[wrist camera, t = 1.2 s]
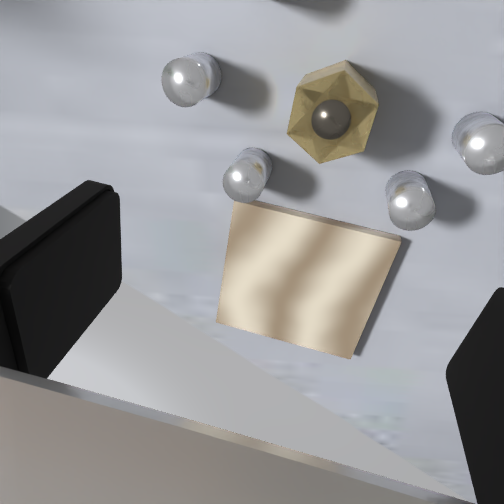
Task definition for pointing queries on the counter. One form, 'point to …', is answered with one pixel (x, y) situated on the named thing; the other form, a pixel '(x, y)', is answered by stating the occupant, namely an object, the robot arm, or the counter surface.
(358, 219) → the counter surface
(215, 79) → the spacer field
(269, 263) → the pad
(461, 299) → the counter surface
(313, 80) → the brass nut
